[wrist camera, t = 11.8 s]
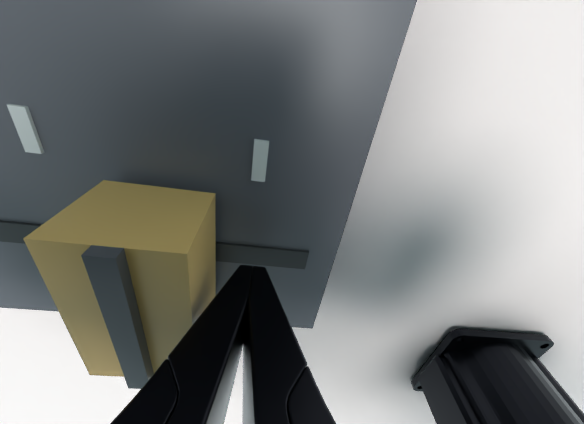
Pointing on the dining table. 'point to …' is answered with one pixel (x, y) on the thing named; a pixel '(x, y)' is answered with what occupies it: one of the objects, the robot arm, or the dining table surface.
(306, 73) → the mixing board
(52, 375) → the dining table surface
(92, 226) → the amber fader
